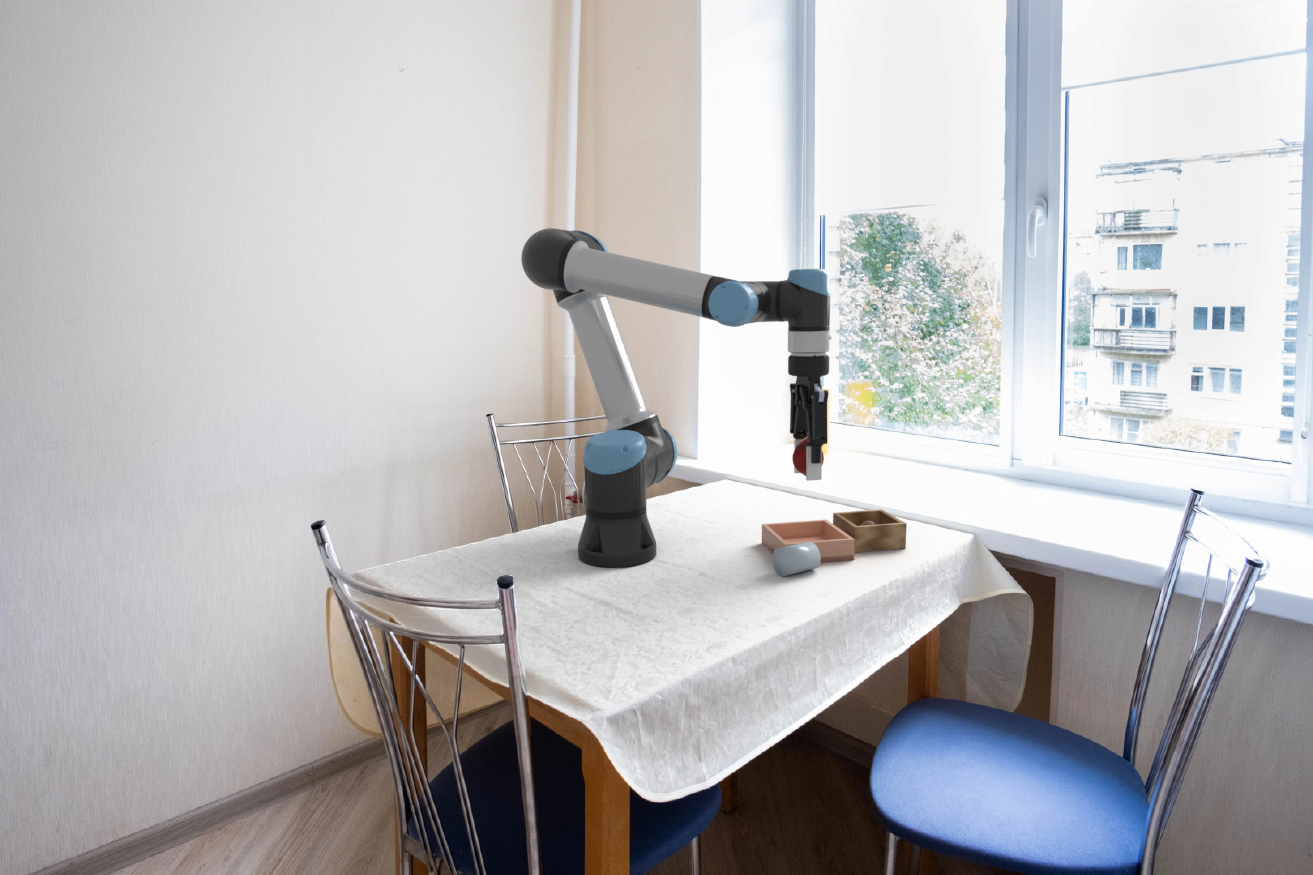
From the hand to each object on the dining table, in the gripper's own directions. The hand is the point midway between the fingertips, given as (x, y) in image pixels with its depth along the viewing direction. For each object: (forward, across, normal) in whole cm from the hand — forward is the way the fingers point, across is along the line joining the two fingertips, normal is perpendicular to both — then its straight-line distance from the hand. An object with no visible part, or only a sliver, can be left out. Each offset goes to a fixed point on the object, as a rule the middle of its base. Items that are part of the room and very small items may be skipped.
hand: (807, 475), depth 155 cm
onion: (0, 0, 0) cm, 0 cm away
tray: (+15, 0, 0) cm, 15 cm away
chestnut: (+15, +3, -14) cm, 21 cm away
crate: (+15, +3, -14) cm, 21 cm away
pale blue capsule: (+15, -10, +6) cm, 19 cm away
